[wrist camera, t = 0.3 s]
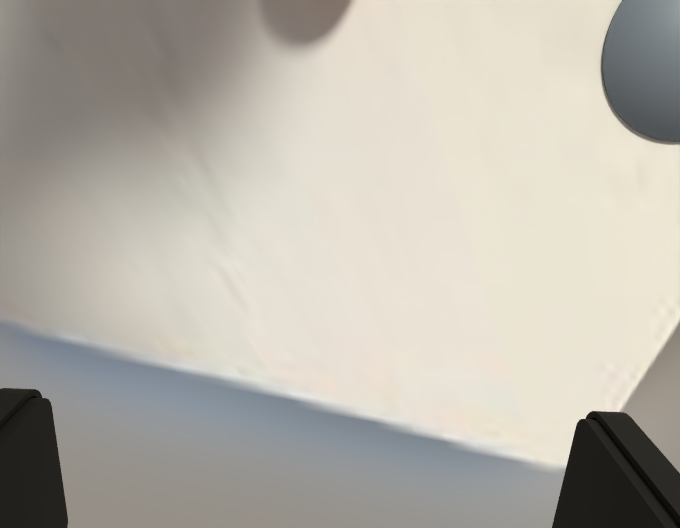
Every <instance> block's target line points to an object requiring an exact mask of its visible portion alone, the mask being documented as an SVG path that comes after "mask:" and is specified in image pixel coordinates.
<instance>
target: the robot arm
mask: <svg viewBox="0 0 680 528" xmlns="http://www.w3.org/2000/svg"><path fill="white" fill-rule="evenodd" d="M67 525H68V518H67V510H66V503H65V496H64V489H63V482H62V475H61V468H60V462H59V455H58V447H57V441H56V434H55V427H54V421H53V413H52V406H51V403H50V401H49V400H48V399H46V398H42V395H41V393H40V392H39V391H38V390H35V389H12V388H3V389H0V528H67ZM552 528H680V473H679V472H678V471H677V470H676V469H675V468H674V466H673V465H672V464H671V463H670V462H669V461H668V459H667V458H666V457H665V456H664V455H663V454H662V453H661V451H660V450H659V449H658V448H657V447H656V446H655V445H654V443H653V442H652V441H651V440H650V439H649V438H648V437H647V435H646V434H645V433H644V432H643V431H642V430H641V429H640V427H639V426H638V425H637V424H636V423H635V422H634V421H633V419H632V418H631V417H630V416H629V415H627V414H626V413H623V412H601V411H592V412H590V413H589V414H588V415H587V417H586V419H581V420H579V422H578V423H577V426H576V430H575V434H574V438H573V442H572V446H571V451H570V455H569V459H568V463H567V467H566V472H565V476H564V480H563V484H562V488H561V492H560V496H559V501H558V505H557V509H556V513H555V517H554V522H553V526H552Z"/></svg>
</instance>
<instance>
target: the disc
mask: <svg viewBox="0 0 680 528" xmlns="http://www.w3.org/2000/svg"><path fill="white" fill-rule="evenodd" d="M603 76H604V82H605V86H606V91H607V93H608V96H609V98H610V101H611V103H612V105H613V106H614V108H615V110H616V111H617V113H618V114H619V115H620V116H621V118H622V119H623V120H624V121H625V122H626V123H627V124H628V125H630V126H631V127H632V128H634V129H635V130H637V131H638V132H640V133H642V134H644V135H646V136H649V137H652V138H655V139H659V140H665V141H680V0H622V2H621V3H620V5H619V7H618V9H617V11H616V13H615V15H614V16H613V19H612V22H611V24H610V27H609V29H608V33H607V36H606V40H605V45H604V52H603Z"/></svg>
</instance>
